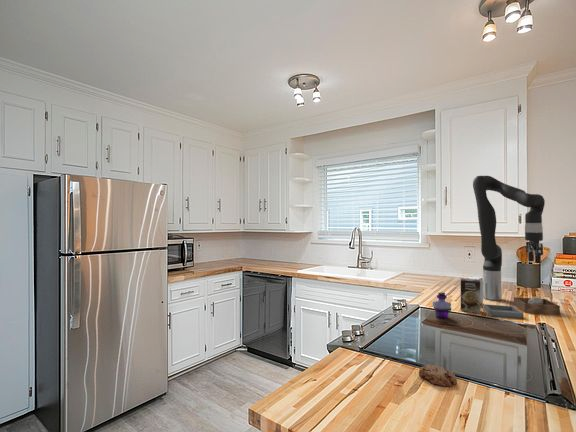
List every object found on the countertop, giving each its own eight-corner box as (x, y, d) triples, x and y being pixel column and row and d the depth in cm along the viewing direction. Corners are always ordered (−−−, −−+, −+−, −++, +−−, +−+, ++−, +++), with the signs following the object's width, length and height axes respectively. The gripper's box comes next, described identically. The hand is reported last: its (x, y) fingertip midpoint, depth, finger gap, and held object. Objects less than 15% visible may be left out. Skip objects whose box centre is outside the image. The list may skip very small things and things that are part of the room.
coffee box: (460, 311, 168) (460, 280, 168) (460, 308, 173) (460, 278, 174) (480, 313, 163) (480, 281, 164) (480, 310, 169) (479, 279, 170)
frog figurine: (538, 312, 165) (537, 298, 165) (524, 308, 172) (524, 295, 172) (546, 311, 166) (546, 297, 167) (533, 307, 173) (533, 294, 173)
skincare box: (472, 301, 188) (471, 276, 188) (483, 303, 183) (483, 277, 183) (466, 303, 182) (465, 277, 183) (477, 305, 178) (477, 279, 178)
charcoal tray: (491, 316, 158) (491, 311, 158) (483, 309, 171) (483, 304, 171) (523, 318, 154) (523, 313, 154) (513, 311, 167) (512, 306, 167)
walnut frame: (524, 312, 164) (524, 303, 164) (513, 305, 178) (513, 297, 178) (560, 314, 160) (559, 305, 160) (546, 307, 174) (545, 299, 174)
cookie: (424, 368, 103) (423, 359, 103) (460, 378, 96) (460, 368, 96) (413, 380, 95) (413, 370, 95) (453, 392, 88) (452, 381, 88)
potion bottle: (454, 320, 152) (453, 294, 152) (434, 319, 154) (434, 294, 154) (449, 315, 160) (448, 291, 161) (430, 314, 162) (430, 290, 162)
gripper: (520, 231, 178) (520, 260, 177) (531, 232, 164) (531, 263, 164) (536, 231, 176) (537, 260, 175) (548, 232, 162) (549, 264, 162)
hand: (534, 262), depth 170 cm, fingers open, 8 cm apart
